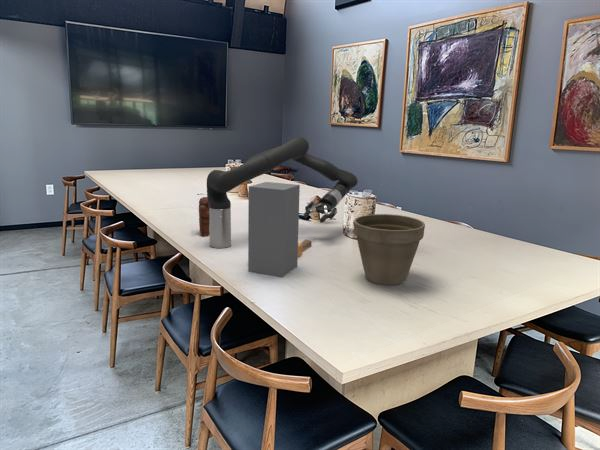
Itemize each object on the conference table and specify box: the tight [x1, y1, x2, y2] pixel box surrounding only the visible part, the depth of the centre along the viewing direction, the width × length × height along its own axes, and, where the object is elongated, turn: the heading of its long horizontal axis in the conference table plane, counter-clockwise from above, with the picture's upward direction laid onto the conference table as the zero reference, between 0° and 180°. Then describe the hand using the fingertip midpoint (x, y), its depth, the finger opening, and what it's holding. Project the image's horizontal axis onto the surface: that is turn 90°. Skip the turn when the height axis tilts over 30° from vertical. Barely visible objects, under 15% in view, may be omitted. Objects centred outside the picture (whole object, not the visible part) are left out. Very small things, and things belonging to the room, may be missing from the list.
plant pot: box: [353, 213, 426, 286], centre depth 168 cm, size 25×25×22 cm
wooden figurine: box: [198, 196, 210, 237], centre depth 223 cm, size 12×6×18 cm, turn 16°
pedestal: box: [247, 181, 301, 278], centre depth 174 cm, size 14×14×32 cm
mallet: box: [298, 239, 313, 259], centre depth 200 cm, size 6×22×5 cm, turn 158°
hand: (312, 218), depth 210 cm, fingers open, 8 cm apart
